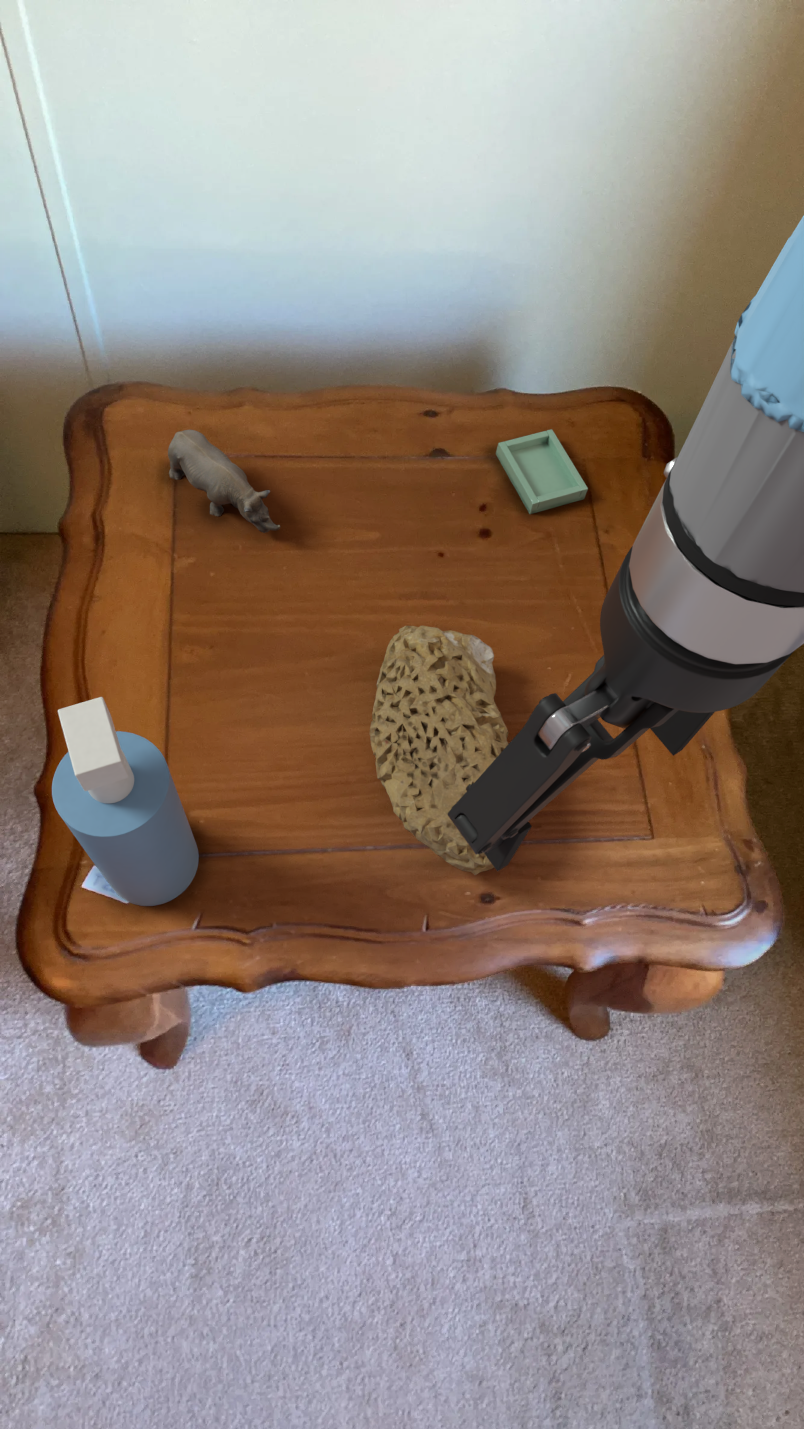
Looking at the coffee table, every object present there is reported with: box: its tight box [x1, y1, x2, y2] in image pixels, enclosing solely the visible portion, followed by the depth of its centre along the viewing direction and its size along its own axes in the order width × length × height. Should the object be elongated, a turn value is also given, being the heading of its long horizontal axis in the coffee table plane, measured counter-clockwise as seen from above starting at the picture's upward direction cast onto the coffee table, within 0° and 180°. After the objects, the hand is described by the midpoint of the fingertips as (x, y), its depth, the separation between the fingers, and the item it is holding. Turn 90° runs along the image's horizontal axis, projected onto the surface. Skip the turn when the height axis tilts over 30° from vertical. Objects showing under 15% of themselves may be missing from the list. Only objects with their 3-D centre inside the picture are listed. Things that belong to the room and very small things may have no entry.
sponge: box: [369, 625, 509, 876], centre depth 73 cm, size 13×8×20 cm
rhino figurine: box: [167, 429, 281, 534], centre depth 84 cm, size 4×14×6 cm, turn 48°
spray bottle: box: [51, 696, 200, 907], centre depth 61 cm, size 7×7×21 cm
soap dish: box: [495, 428, 589, 515], centre depth 90 cm, size 8×6×2 cm
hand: (579, 790), depth 55 cm, fingers open, 13 cm apart
